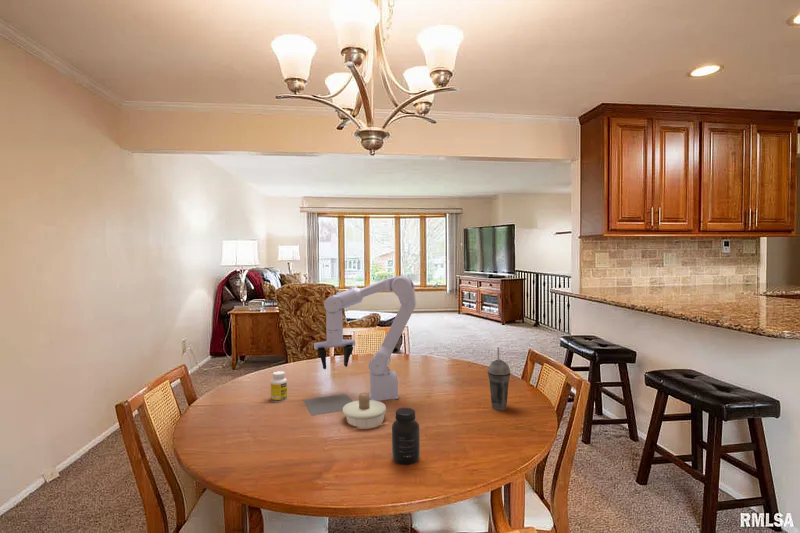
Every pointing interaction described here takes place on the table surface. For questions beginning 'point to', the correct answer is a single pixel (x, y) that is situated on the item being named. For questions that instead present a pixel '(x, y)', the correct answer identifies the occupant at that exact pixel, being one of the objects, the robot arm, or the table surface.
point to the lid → (364, 408)
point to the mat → (327, 404)
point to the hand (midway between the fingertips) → (335, 367)
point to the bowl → (366, 422)
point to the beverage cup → (499, 383)
